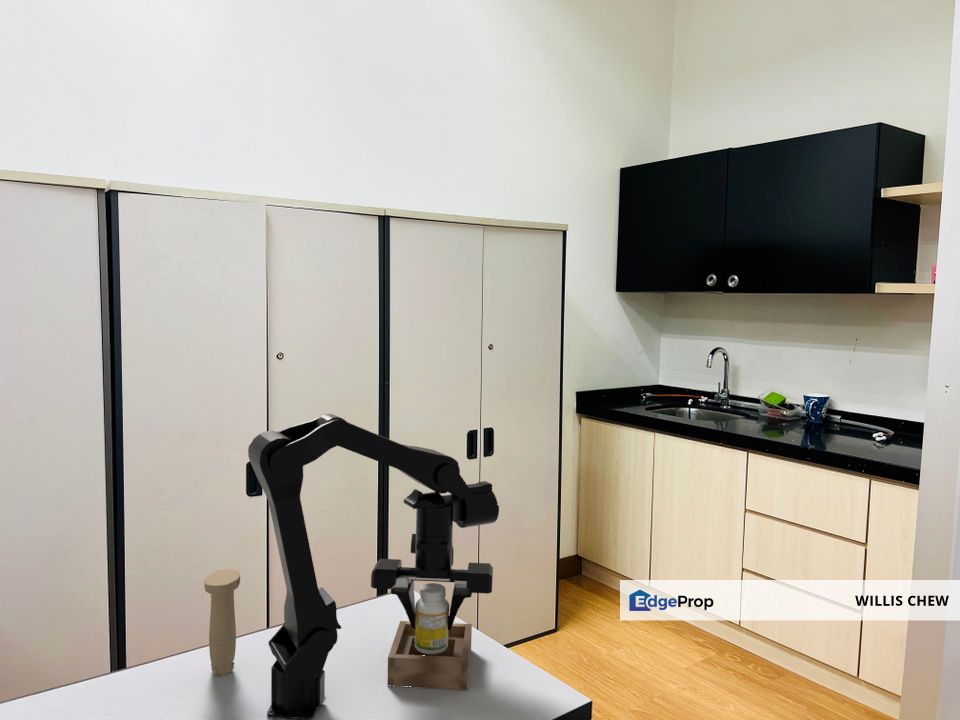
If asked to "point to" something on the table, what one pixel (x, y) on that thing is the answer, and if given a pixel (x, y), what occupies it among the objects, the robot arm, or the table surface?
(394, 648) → the walnut box
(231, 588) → the handle
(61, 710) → the table surface
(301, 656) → the robot arm
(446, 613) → the supplement bottle
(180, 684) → the table surface
